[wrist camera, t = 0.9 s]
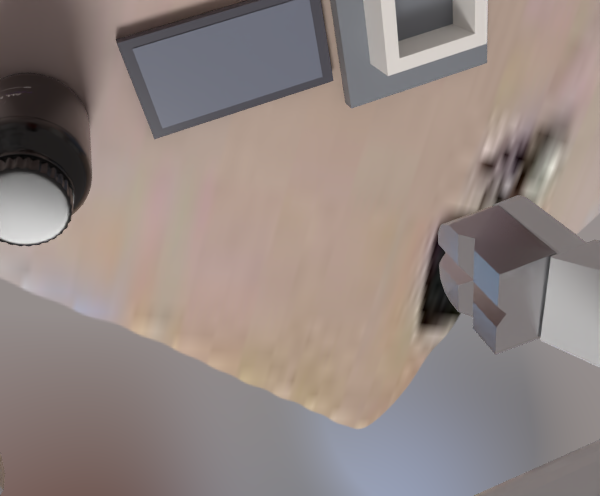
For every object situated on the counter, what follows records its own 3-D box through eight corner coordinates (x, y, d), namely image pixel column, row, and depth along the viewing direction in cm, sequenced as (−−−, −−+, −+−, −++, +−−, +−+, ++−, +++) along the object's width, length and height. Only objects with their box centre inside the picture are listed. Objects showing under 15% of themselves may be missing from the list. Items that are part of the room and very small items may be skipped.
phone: (153, 134, 42) (154, 139, 41) (115, 39, 37) (116, 43, 36) (329, 77, 43) (333, 81, 43) (313, -20, 39) (318, -17, 38)
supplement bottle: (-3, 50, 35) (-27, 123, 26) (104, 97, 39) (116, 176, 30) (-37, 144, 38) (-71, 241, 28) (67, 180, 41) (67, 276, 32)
